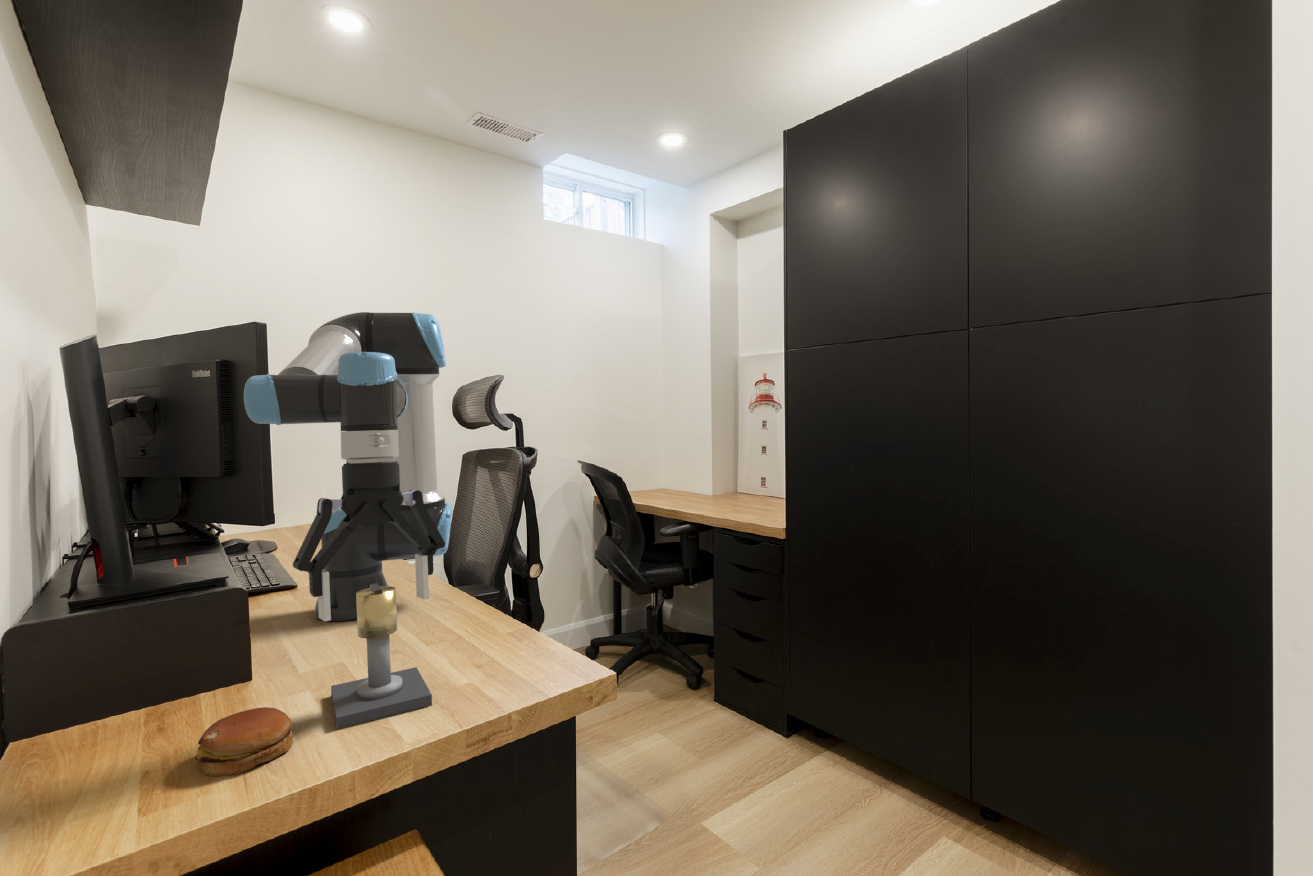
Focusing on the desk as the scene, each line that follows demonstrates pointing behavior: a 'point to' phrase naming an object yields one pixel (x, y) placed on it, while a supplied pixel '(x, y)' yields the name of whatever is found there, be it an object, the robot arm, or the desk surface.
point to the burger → (244, 741)
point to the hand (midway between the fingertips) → (376, 608)
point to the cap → (376, 611)
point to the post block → (379, 689)
